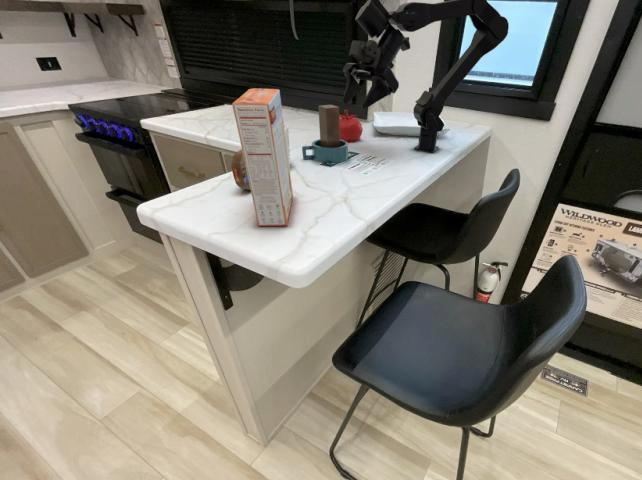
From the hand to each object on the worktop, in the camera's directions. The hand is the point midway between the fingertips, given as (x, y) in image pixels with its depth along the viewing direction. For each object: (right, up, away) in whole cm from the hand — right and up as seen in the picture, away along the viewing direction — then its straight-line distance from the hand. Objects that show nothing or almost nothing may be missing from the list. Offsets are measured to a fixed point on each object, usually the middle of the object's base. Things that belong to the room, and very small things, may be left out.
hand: (353, 105), depth 90 cm
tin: (-23, -25, -10) cm, 36 cm away
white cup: (-20, -17, -1) cm, 27 cm away
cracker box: (-15, -35, -22) cm, 44 cm away
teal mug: (-8, -13, +5) cm, 16 cm away
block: (-7, -12, +5) cm, 15 cm away
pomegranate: (-3, +1, +22) cm, 23 cm away
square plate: (+20, +13, +38) cm, 45 cm away
